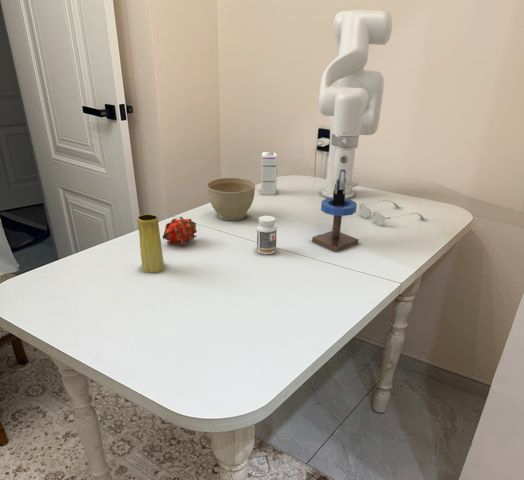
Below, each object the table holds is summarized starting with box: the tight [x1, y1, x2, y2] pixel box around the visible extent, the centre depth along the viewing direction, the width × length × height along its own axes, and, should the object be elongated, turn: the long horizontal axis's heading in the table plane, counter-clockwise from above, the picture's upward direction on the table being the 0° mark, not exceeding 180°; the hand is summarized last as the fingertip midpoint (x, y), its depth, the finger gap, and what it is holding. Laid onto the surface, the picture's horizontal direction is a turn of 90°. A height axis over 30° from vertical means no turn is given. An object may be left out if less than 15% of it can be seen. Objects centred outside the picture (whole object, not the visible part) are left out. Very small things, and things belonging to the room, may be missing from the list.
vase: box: [136, 213, 166, 274], centre depth 131 cm, size 6×6×14 cm
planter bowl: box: [206, 177, 256, 221], centre depth 167 cm, size 16×16×11 cm
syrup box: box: [260, 151, 278, 196], centre depth 189 cm, size 6×6×14 cm
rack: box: [311, 205, 359, 253], centre depth 149 cm, size 10×10×12 cm
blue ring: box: [320, 197, 358, 217], centre depth 146 cm, size 10×10×2 cm
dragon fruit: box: [162, 216, 198, 247], centre depth 147 cm, size 8×8×12 cm
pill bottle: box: [256, 215, 277, 255], centre depth 143 cm, size 6×6×10 cm
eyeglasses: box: [358, 199, 425, 226], centre depth 171 cm, size 15×18×4 cm
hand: (337, 205), depth 150 cm, fingers closed on blue ring, 2 cm apart
